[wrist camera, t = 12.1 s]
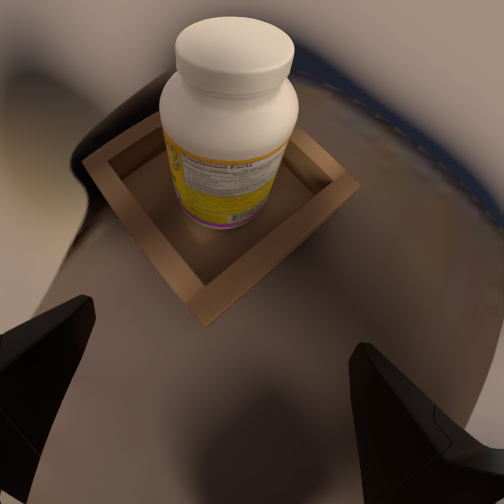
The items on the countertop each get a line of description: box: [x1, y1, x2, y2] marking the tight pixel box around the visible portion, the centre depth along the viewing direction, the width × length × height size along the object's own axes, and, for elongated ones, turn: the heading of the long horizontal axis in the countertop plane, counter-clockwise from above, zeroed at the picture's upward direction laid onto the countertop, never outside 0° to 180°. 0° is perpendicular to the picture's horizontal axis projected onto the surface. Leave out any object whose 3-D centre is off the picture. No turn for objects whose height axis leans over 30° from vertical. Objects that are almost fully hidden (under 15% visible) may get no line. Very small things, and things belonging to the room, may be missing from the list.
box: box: [82, 110, 361, 328], centre depth 20 cm, size 14×14×4 cm
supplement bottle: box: [159, 17, 298, 229], centre depth 15 cm, size 7×7×13 cm
